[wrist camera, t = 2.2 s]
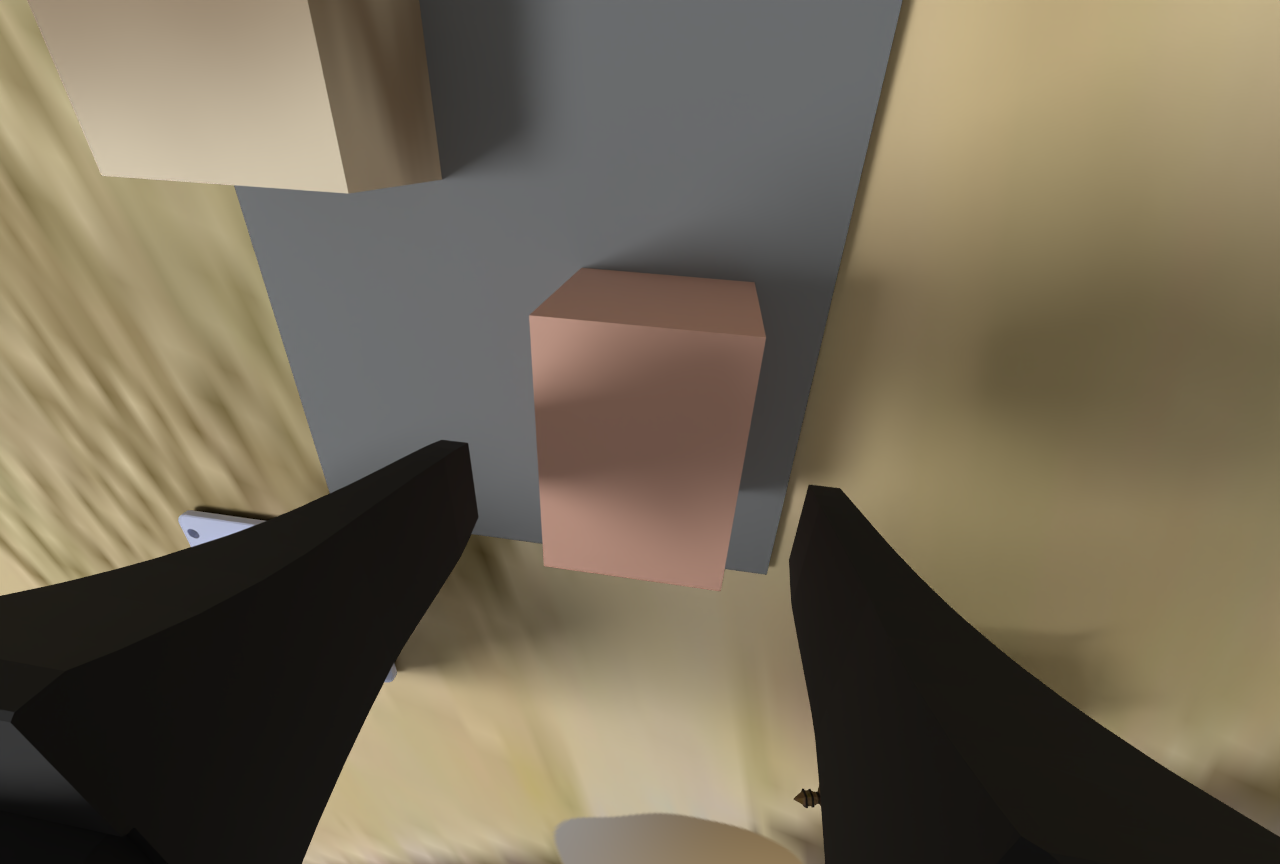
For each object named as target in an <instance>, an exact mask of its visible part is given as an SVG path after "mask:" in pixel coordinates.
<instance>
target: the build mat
mask: <svg viewBox="0 0 1280 864" xmlns="http://www.w3.org/2000/svg"><path fill="white" fill-rule="evenodd" d="M419 4H420V11H421V19H422V27H423V35H424V43H425V50H426V58H427V66H428V74H429V82H430V89H431V97H432V105H433V113H434V121H435V128H436V136H437V144H438V152H439V160H440V167H441V175H442V180H436V181H430V182H423V183H416V184H410V185H403V186H396V187H389V188H383V189H376V190H369V191H363V192H356V193H349V194H347V193H334V192H320V191H306V190H293V189H279V188H265V187H251V186H238V185H234V187H235V190H236V193H237V196H238V200H239V203H240V206H241V209H242V212H243V216H244V219H245V222H246V225H247V229H248V232H249V235H250V238H251V241H252V245H253V248H254V251H255V254H256V257H257V261H258V264H259V267H260V270H261V274H262V277H263V280H264V283H265V286H266V290H267V293H268V296H269V299H270V302H271V306H272V309H273V312H274V315H275V318H276V322H277V325H278V328H279V331H280V335H281V338H282V341H283V344H284V347H285V351H286V354H287V357H288V360H289V363H290V367H291V370H292V373H293V376H294V379H295V383H296V386H297V389H298V392H299V396H300V399H301V402H302V405H303V408H304V412H305V415H306V418H307V421H308V424H309V428H310V431H311V434H312V437H313V441H314V444H315V447H316V450H317V453H318V457H319V460H320V463H321V466H322V469H323V473H324V476H325V479H326V482H327V485H328V489H329V492H330V493H332V492H334V491H336V490H338V489H341V488H343V487H345V486H347V485H349V484H351V483H353V482H355V481H357V480H359V479H361V478H363V477H365V476H367V475H369V474H371V473H373V472H375V471H377V470H379V469H381V468H383V467H385V466H387V465H389V464H391V463H393V462H395V461H397V460H399V459H401V458H403V457H405V456H407V455H409V454H411V453H413V452H415V451H417V450H419V449H421V448H423V447H425V446H428V445H430V444H432V443H435V442H437V441H440V440H449V441H457V442H465V443H468V444H469V452H470V459H471V466H472V473H473V481H474V488H475V495H476V502H477V509H478V520H477V522H476V524H475V527H474V529H473V531H472V533H471V534H476V535H483V536H490V537H497V538H505V539H512V540H519V541H526V542H534V543H541V544H543V542H542V525H541V508H540V491H539V474H538V458H537V441H536V424H535V407H534V390H533V373H532V356H531V339H530V323H529V315H530V314H531V313H532V312H533V311H534V310H535V309H537V308H538V307H539V306H540V305H541V304H542V303H543V302H544V301H545V300H546V299H548V298H549V297H550V296H551V295H552V294H553V293H554V292H555V291H556V290H557V289H559V288H560V287H561V286H562V285H563V284H564V283H565V282H566V281H567V280H568V279H570V278H571V277H572V276H573V275H574V274H575V273H576V272H577V271H578V270H579V269H581V268H590V269H602V270H614V271H626V272H638V273H650V274H662V275H674V276H686V277H698V278H710V279H721V280H733V281H745V282H755V286H756V291H757V296H758V301H759V306H760V311H761V315H762V320H763V325H764V330H765V335H766V341H765V347H764V352H763V358H762V363H761V369H760V374H759V380H758V386H757V391H756V397H755V402H754V408H753V413H752V419H751V425H750V430H749V436H748V441H747V447H746V452H745V458H744V464H743V469H742V475H741V480H740V486H739V491H738V497H737V503H736V508H735V514H734V519H733V525H732V530H731V536H730V542H729V547H728V553H727V558H726V564H725V569H729V570H736V571H744V572H751V573H758V574H765V575H767V571H768V566H769V562H770V558H771V554H772V549H773V545H774V541H775V537H776V533H777V528H778V524H779V520H780V516H781V511H782V507H783V503H784V499H785V494H786V490H787V486H788V482H789V478H790V473H791V469H792V465H793V461H794V456H795V452H796V448H797V444H798V440H799V435H800V431H801V427H802V423H803V418H804V414H805V410H806V406H807V402H808V397H809V393H810V389H811V385H812V380H813V376H814V372H815V368H816V363H817V359H818V355H819V351H820V347H821V342H822V338H823V334H824V330H825V325H826V321H827V317H828V313H829V309H830V304H831V300H832V296H833V292H834V287H835V283H836V279H837V275H838V271H839V266H840V262H841V258H842V254H843V249H844V245H845V241H846V237H847V233H848V228H849V224H850V220H851V216H852V211H853V207H854V203H855V199H856V194H857V190H858V186H859V182H860V178H861V173H862V169H863V165H864V161H865V156H866V152H867V148H868V144H869V140H870V135H871V131H872V127H873V123H874V118H875V114H876V110H877V106H878V102H879V97H880V93H881V89H882V85H883V80H884V76H885V72H886V68H887V63H888V59H889V55H890V51H891V47H892V42H893V38H894V34H895V30H896V25H897V21H898V17H899V13H900V9H901V4H902V0H419Z"/></svg>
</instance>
